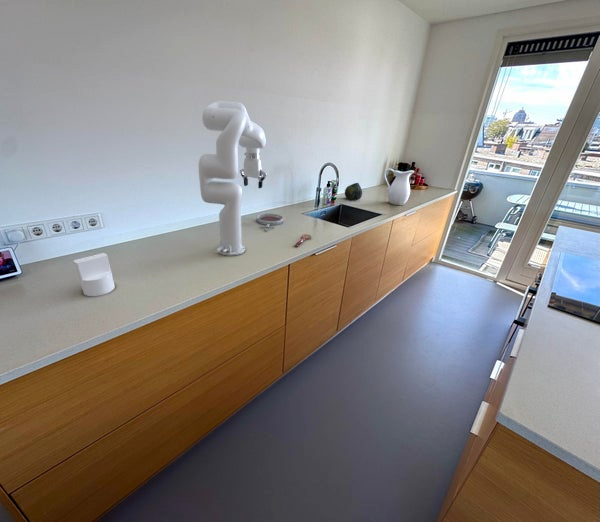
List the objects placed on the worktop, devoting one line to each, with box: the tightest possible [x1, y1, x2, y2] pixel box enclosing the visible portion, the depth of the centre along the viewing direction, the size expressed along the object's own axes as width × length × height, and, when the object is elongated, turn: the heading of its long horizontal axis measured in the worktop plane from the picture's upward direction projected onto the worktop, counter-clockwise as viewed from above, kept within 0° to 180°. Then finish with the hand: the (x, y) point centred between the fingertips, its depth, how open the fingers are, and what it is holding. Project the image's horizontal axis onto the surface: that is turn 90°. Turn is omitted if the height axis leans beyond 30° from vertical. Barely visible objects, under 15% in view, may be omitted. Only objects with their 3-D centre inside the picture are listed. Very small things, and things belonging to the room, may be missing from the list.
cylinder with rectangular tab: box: [73, 252, 116, 297], centre depth 97 cm, size 9×9×12 cm
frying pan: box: [255, 212, 285, 232], centre depth 173 cm, size 17×3×28 cm
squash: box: [344, 182, 363, 201], centre depth 244 cm, size 14×15×15 cm
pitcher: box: [383, 168, 415, 206], centre depth 240 cm, size 24×17×28 cm
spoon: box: [294, 233, 312, 248], centre depth 151 cm, size 18×5×2 cm, turn 158°
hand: (253, 186), depth 169 cm, fingers open, 9 cm apart
